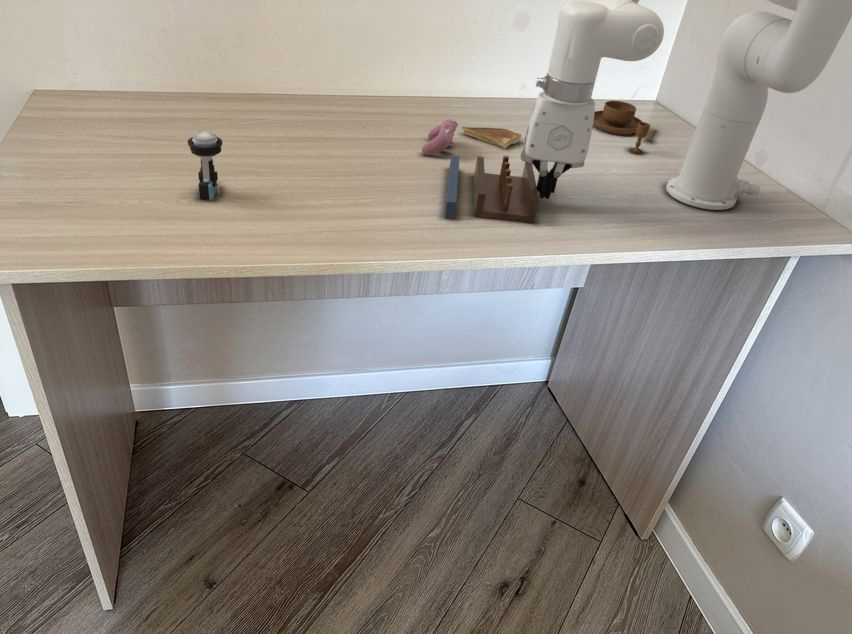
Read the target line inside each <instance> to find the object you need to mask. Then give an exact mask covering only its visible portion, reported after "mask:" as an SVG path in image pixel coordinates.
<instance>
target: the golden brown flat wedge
mask: <svg viewBox="0 0 852 634" xmlns="http://www.w3.org/2000/svg"><path fill="white" fill-rule="evenodd" d="M461 129H462V130H463V132H462V133H463V135H467V136H469V137H473V138H475V139H478V140H480V141H483V142H487V143H488V144H490V145H495V146H498V147H500V148H502V149H503V150H505V149H507V148H508V147H509V146H511V145H514V144H519V142H520V139H521V138H522V133H519V132H516V131H512V130H510V129H508V128H500V127H498V128H497V127H471V126H470V127H468V126H467V127H465V126H462V127H461Z"/></svg>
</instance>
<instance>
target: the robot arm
mask: <svg viewBox="0 0 852 634" xmlns="http://www.w3.org/2000/svg"><path fill="white" fill-rule="evenodd" d="M766 1H768V2H769V3H771V4H773V5H777V6H779V7H782V8H785V9H788V10H790V11H794V15H793V17H792V19H789V18H786V17H784V16H781V15H778V14H775V13H772V12H768V11H761V10H760V11H759V10H758V11H751V12H747V13H744V14H741V15H740V16H738V17H737V18H736V19H734V20H733V21H732V22H731V23H730V25H729V26H727V28H726V29H725V31H724V33H723V35H722V37H721V40H720V43H719V47H718V52H717V58H716V64H715V68H714V69H715V70H714V74H713V79H712V82H711V85H710V89H709V91H708V95H707V98H706V101H705V103H704V105H703V108H702V111H701V114H700V117H699V119H698V123H697V125H696V127H695V131H694V132H693V136H692V139H691V142H690V144H689V147H688V150H687V153H686V156H685V159H684V161H683V164H682V167H681V170H680V172H679V175H678V176H675V177H672V178H670V179H669V180H668V181H667V183H666V185H665V190H666V192H667V193H668V194H669V196H671V197H672V198H674V199H675V200H677V201H678V202H680V203H683V204H684V205H685V204H686V205H688V206H691V207H694V208H697V209H698V208H699V209H703V210H710V211H723V210H724V211H725V210H728V209H731V208H733V207H734V206H735V205H736V203H737V201H738V196H740V195H741V194H744V195H749V196H758V195H759V194H760V192H761V185H760V184H752V183H749V182H750V181H749V180H748V179H739V178H738V175H739V172H740V170H741V167H742V165H743V163H744V162H745V161H744V160H745V158H746V156H747V153H748V150H749V149H750V146H751V143H752V141H753V139H754V137H755V134H756V133H757V132H756V131H757V129H758V127H759V124H760V122H761V120H762V117H763V115H764V113H765V110H766V107H767V103H768V97H769V89H772V90H774V91H776V92H779V93H784V94H795V93H799V92H801V91H803V90H805V89H806V88H808V87H809V86H811V84H813V83H814V82H815V81H816V80H817V79H818V77H819V76H820V75H821V73H822V72H823V71H824V70H825V67H827V64H828V62H829V61H830V59H831V57H832V55H833V54H834V52H835V50H836V48H837V46H838V44H839V42H840V41H841V38H842V36H843V35H844V33H845V31H846V28H847V27H848V25H849V23H850V21H851V19H852V0H766ZM639 2H640V0H590V1H586V0H573V1H569V2H567V3H565V4H564V5H563V6H562V8H561V9H560V13H559V17H558V21H557V26H556V31H555V36H554V40H553V45H552V49H551V50H552V51H551V54H550V59H549V65H548V69H547V72H546V75H545V76H544V77H537V78H536V82H535V87H536V88H540V89H542V91H540V92H539V93H538V96H537V99H536V101H535V103H534V105H533V109H532V111H531V115H530V118H529V122H528V126H527V129H526V133H525V138H524V146H523V149H522V151H521V152H520V160H521V161H522V162H524V163H525V162H527V163H530V164H532V166H533V167H534V168H535V169H536V171H537V172H538V173H539V174H538V178H537V182H536V186H537V191H538V196H539V199H546V200H550V198H551V195H552V194H555V192H556V188H557V187H556V186H557V182H558V179H559V178H560V177H561V176H562V175H563V174H564V173H565V172H568V171H569V170H570V169H578V168H583V167H584V166H585V161H586V159H587V156H588V152H589V148H590V143H591V139H592V134H593V126H594V125H593V121H594V113H595V111H596V101H595V100H594V99H593V98H592V96H593V91H594V88H595V84H596V80H597V76H598V72H599V69H600V65H601V64H600V63H601V60H602V58H606V59H607V58H608V59H613V60H618V61H623V62H639V61H642V60H645V59H647V58H649V57H650V56H651V55H653V54H654V53H655V52H656V51H657V50H658V49H659V47H660V46H661V44H662V42H663V40H664V36H665V28H664V27H665V26H664V23H663V21H662V19H661V17H660V16H659V15H658V14H657V13H656V12H655V11H653V10H652V9H650V8H648V7H646V6H644V5H641V4H639ZM548 162H549V163H553V165H552V168H551V169H550V170H549V169H548V164H549V163H548Z"/></svg>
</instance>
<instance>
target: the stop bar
mask: <svg viewBox="0 0 852 634" xmlns="http://www.w3.org/2000/svg"><path fill="white" fill-rule="evenodd" d="M459 171H460V156H459V155H452V154H451V155H450V161H449V168H448V177H447V187H446V197H445V198H446V200H445V210H444V218H445V219H451V220H455V215H456V212H457V211H456V210H457V204H458V203H457V202H458V191H459V188H458V187H459V173H460V172H459Z"/></svg>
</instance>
